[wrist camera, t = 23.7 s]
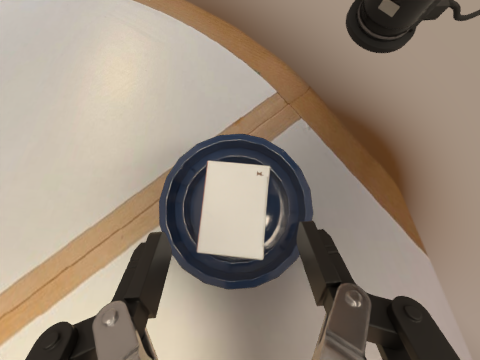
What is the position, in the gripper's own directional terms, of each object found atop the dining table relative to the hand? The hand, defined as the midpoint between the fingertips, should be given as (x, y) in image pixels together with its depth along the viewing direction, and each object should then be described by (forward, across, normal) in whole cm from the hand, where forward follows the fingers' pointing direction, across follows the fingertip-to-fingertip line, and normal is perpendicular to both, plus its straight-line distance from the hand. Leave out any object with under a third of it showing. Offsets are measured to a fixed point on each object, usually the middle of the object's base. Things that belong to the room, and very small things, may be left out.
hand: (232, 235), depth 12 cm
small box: (+12, 0, +9) cm, 15 cm away
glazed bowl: (+12, 0, +9) cm, 15 cm away
